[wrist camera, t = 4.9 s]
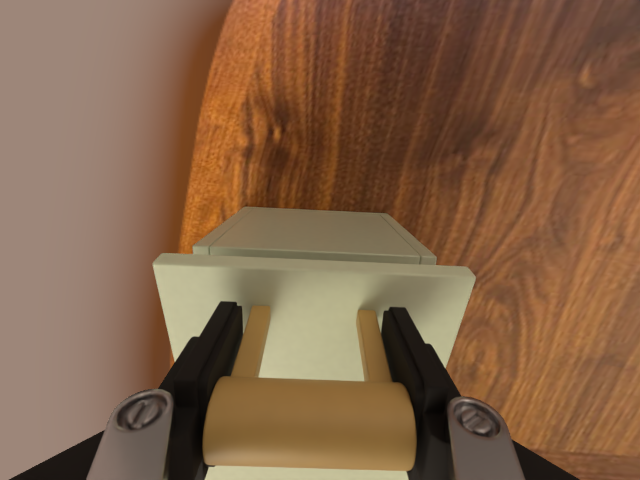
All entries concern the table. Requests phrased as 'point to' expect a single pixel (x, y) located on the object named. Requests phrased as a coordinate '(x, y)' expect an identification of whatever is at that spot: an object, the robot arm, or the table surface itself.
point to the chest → (314, 237)
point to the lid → (310, 360)
